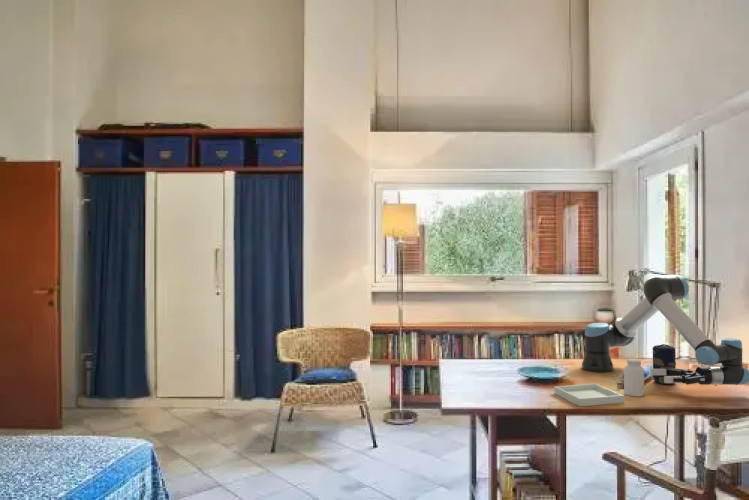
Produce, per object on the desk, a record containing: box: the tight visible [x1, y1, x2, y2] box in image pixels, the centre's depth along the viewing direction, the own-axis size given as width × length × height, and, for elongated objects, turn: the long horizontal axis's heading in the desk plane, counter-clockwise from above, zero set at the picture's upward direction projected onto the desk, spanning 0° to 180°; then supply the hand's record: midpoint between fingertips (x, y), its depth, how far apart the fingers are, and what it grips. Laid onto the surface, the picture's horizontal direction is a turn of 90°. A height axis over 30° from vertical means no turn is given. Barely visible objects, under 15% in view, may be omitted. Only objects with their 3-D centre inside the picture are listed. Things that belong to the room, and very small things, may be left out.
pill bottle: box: [623, 358, 645, 398], centre depth 241 cm, size 8×8×15 cm
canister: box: [652, 343, 677, 385], centre depth 260 cm, size 10×10×18 cm
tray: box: [553, 383, 625, 407], centre depth 237 cm, size 20×20×3 cm
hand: (657, 375), depth 241 cm, fingers open, 13 cm apart
